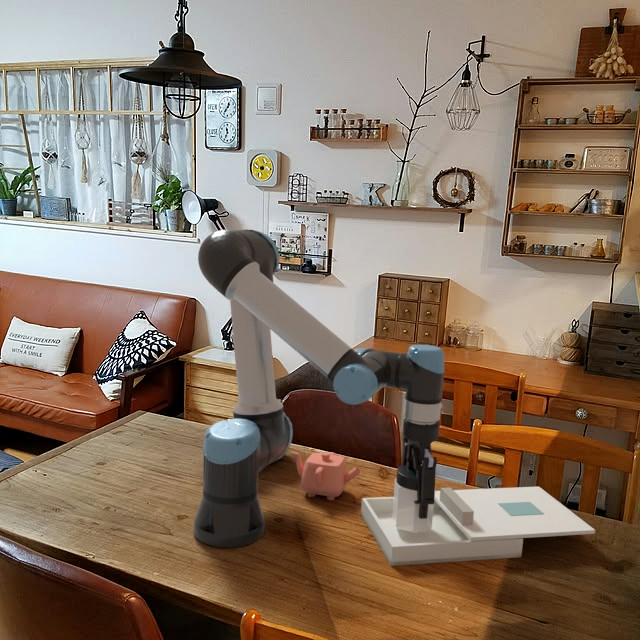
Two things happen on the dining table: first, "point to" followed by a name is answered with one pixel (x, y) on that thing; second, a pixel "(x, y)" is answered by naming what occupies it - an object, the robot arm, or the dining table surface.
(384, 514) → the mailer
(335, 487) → the teapot
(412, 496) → the jar
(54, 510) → the dining table surface
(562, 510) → the lid
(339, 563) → the dining table surface
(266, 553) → the dining table surface
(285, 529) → the dining table surface
